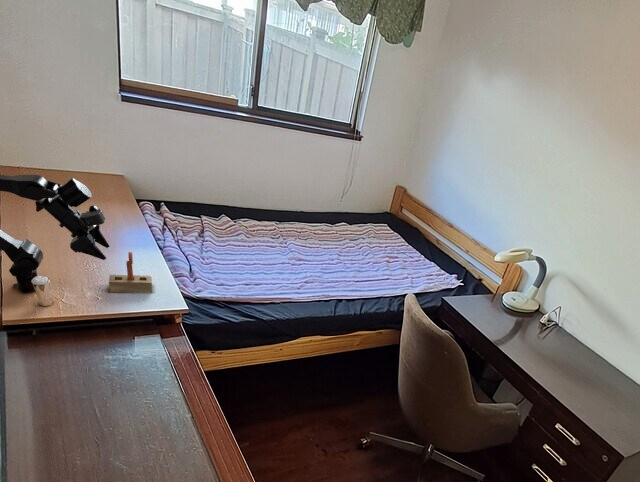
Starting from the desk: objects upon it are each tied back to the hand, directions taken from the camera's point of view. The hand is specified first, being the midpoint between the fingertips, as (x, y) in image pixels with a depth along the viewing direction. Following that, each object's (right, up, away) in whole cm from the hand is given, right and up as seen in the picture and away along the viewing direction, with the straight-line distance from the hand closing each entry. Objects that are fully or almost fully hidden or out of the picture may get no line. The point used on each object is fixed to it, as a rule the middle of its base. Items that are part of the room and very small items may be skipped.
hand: (106, 253), depth 149 cm
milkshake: (-15, -18, -6) cm, 24 cm away
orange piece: (+2, -10, +11) cm, 15 cm away
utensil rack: (+2, -10, +11) cm, 15 cm away
